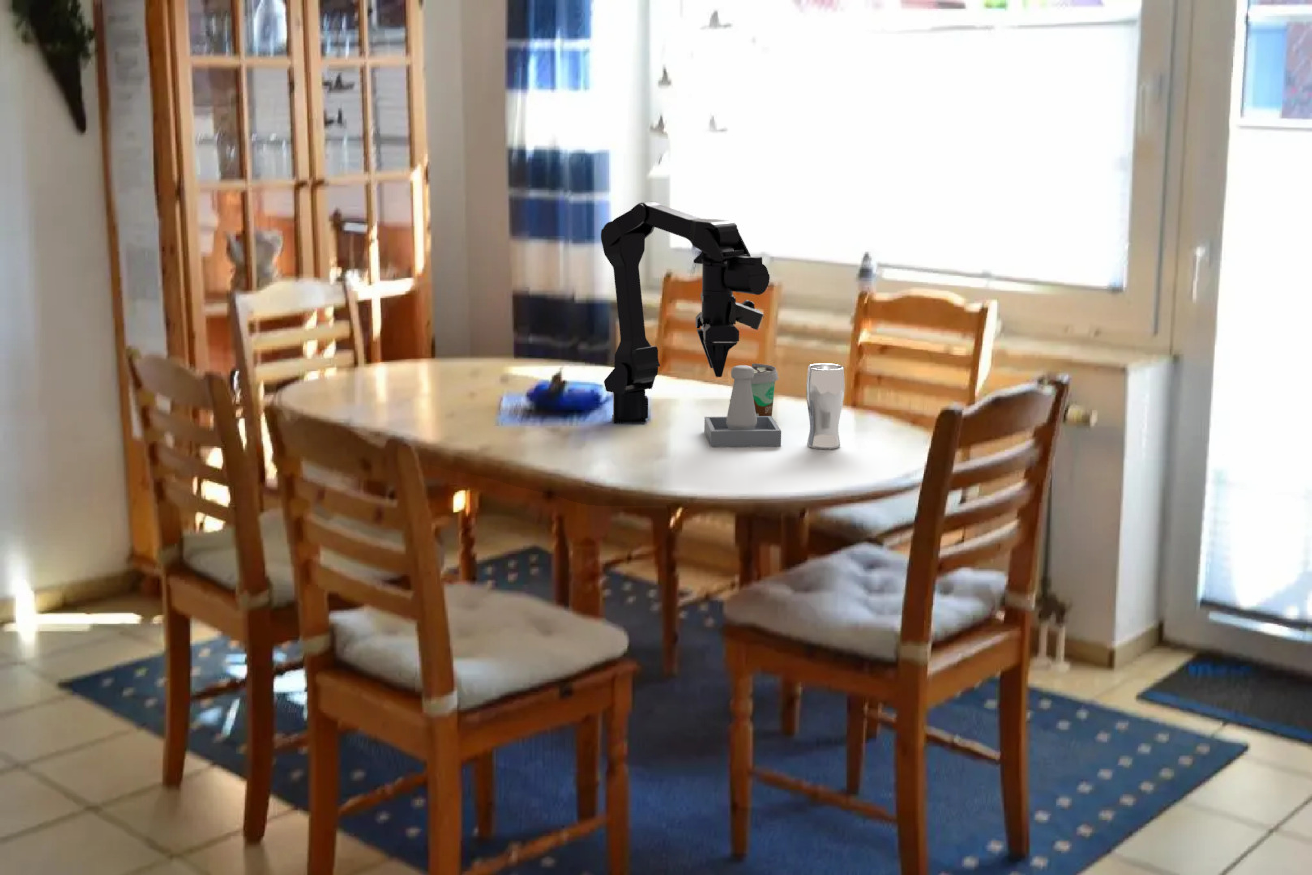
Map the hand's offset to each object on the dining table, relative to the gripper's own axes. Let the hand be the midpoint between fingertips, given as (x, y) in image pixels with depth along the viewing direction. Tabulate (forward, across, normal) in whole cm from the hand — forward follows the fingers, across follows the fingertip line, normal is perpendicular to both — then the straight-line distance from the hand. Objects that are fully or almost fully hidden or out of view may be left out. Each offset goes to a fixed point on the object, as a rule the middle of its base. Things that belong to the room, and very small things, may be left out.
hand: (715, 372), depth 293 cm
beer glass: (+13, -7, -20) cm, 24 cm away
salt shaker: (+12, 0, -5) cm, 13 cm away
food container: (+13, +19, -12) cm, 26 cm away
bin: (+13, 0, -5) cm, 14 cm away
